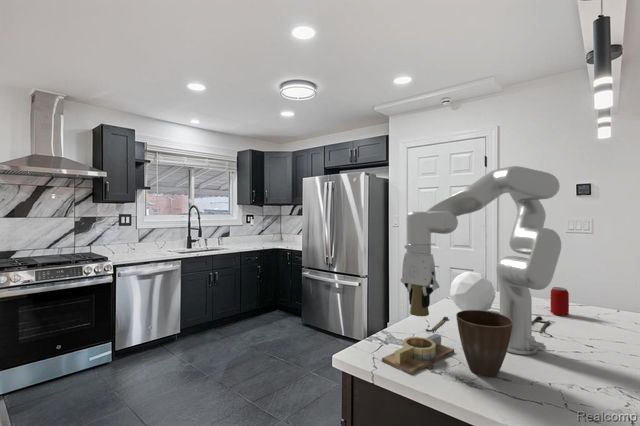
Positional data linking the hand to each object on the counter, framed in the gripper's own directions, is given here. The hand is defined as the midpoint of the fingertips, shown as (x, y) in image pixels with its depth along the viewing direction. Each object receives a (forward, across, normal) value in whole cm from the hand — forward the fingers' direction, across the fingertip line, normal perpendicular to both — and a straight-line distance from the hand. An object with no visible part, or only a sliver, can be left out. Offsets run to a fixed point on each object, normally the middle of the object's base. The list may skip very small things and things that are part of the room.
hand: (419, 304), depth 107 cm
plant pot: (+17, +18, +6) cm, 26 cm away
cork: (+3, 0, 0) cm, 3 cm away
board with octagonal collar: (+17, 0, 0) cm, 17 cm away
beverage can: (+17, +15, +88) cm, 91 cm away
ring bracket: (+17, 0, 0) cm, 17 cm away
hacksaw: (+18, +16, +63) cm, 67 cm away
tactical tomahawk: (+18, -11, +32) cm, 39 cm away
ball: (+17, -12, +60) cm, 63 cm away
